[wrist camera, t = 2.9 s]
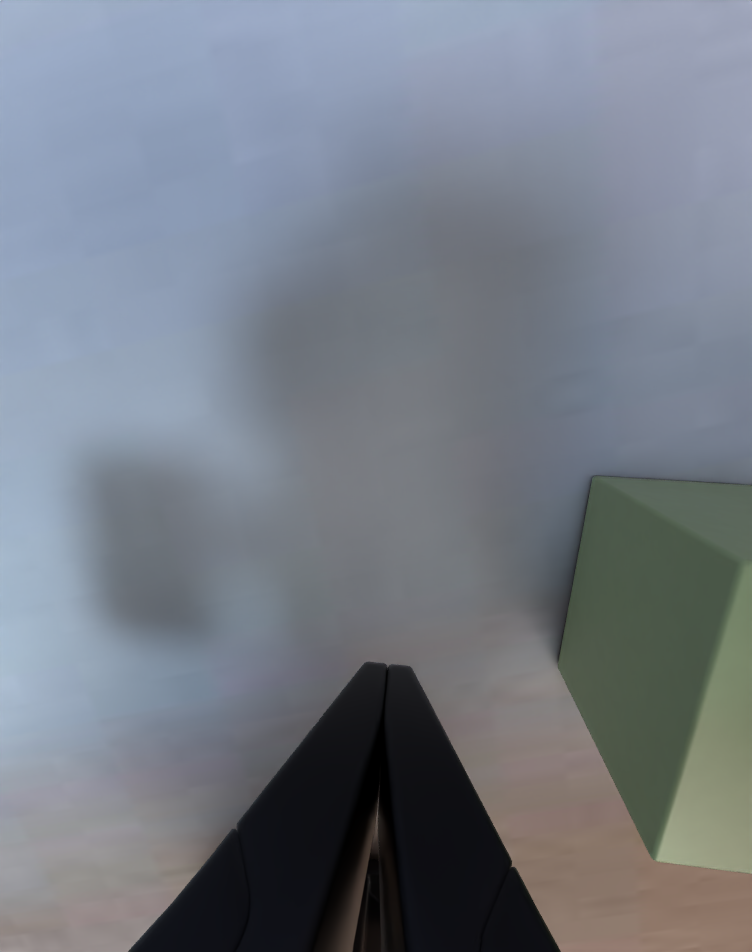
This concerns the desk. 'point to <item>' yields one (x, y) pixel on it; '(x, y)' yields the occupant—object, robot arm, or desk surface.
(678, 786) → the block
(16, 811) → the desk surface
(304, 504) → the desk surface
